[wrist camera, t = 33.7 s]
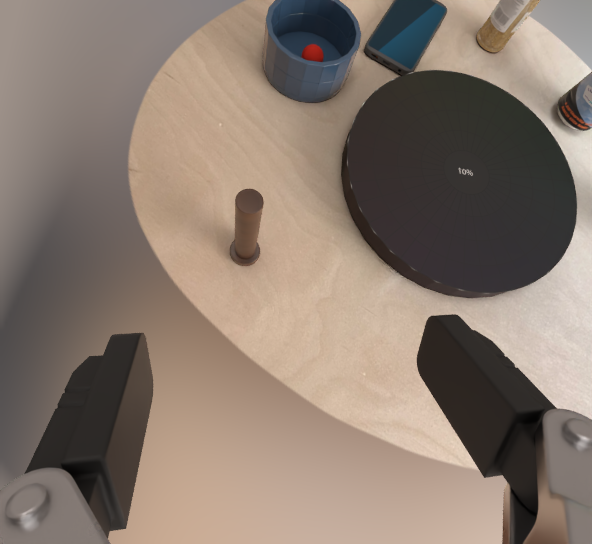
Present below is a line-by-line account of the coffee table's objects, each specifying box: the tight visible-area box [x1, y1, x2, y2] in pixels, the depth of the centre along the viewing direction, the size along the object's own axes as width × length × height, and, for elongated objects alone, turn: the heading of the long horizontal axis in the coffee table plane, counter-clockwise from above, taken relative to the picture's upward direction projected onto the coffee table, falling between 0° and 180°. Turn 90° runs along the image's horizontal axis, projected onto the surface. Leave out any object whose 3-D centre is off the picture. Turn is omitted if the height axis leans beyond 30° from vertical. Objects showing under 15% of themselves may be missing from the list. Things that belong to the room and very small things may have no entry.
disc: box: [341, 70, 577, 298], centre depth 47 cm, size 30×30×3 cm
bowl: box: [263, 0, 361, 103], centre depth 47 cm, size 11×11×6 cm
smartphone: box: [364, 0, 447, 75], centre depth 54 cm, size 8×15×1 cm, turn 151°
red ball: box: [301, 44, 324, 62], centre depth 47 cm, size 3×3×3 cm
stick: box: [230, 189, 264, 266], centre depth 35 cm, size 3×3×12 cm
